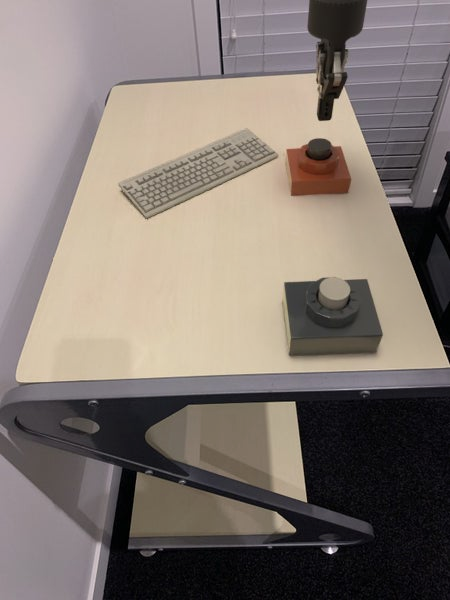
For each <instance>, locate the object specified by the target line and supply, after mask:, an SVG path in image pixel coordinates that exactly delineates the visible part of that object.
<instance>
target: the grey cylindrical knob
mask: <svg viewBox="0 0 450 600" xmlns="http://www.w3.org/2000/svg"><path fill="white" fill-rule="evenodd" d="M330 277H331V278H327V277H326V278H327V279H325V280H323V281H322V282H321V284H320V288H319V293H318V301H319V303H320V304H321V305H322V306H323V307H324V308H326V309H329V310H340V309H342V308H344V307H345V306H346V304H347V302H348V298H349V294H350V286H349V285H348V283H347V282H346V281H344V280H345V279H343V278H340V277H337V278H336V276H330Z"/></svg>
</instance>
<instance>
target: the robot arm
mask: <svg viewBox="0 0 450 600" xmlns="http://www.w3.org/2000/svg"><path fill="white" fill-rule="evenodd" d="M308 1H309V2H308V14H307V28H306V29H307V32H308V33H309V34H310V35H311V36H312V37H314V38H316V39H319V40H320V41H316V44H315V55H316V67H315V74H316V77H315V82H316V84H317V88H316V91H317V93H318V98H317V107H316V118H317V120H318V121H319V122H327V121H331V120H332V118H333V113H334V112H333V111H334V104H335V100H337V99H338V100H339V98H340V96H341V95H342V92H343V90H344V87H345V85H346V83H347V80H348V76H349V75H348V72H347V71H345V66H346V64H347V63H348V59H349V48H347V47H346V46H347V45H346V43H347V41H348V40H350V39H351V38H355V37H357V36H358V35H359V34H360V33H361V32H362V31H363V29H364V22H365V18H366V11H367V5H368V0H308Z"/></svg>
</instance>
